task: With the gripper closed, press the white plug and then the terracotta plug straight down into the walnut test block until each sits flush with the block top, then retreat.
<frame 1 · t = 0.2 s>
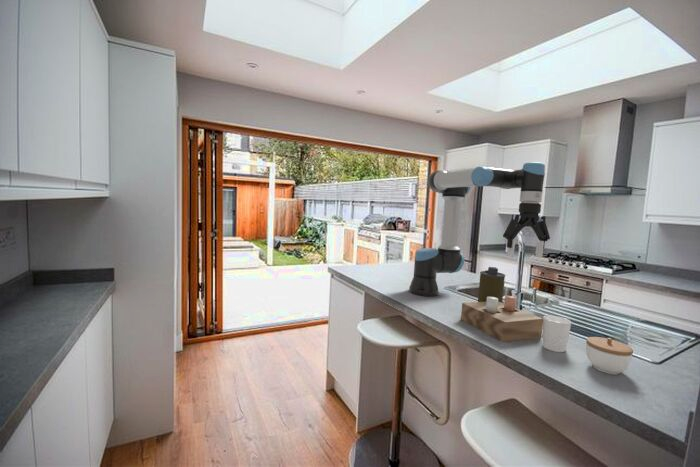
hand: (524, 256, 128), 28 cm above the countertop, fingers open, 13 cm apart
canister: (488, 311, 146), on the countertop
white plug: (491, 305, 123), point 9 cm above the countertop, slide at 0.0 cm
lidded jar: (605, 369, 96), on the countertop
terracotta plug: (510, 304, 126), point 9 cm above the countertop, slide at 0.0 cm
walnut block: (498, 328, 125), on the countertop
white cup: (553, 348, 109), on the countertop
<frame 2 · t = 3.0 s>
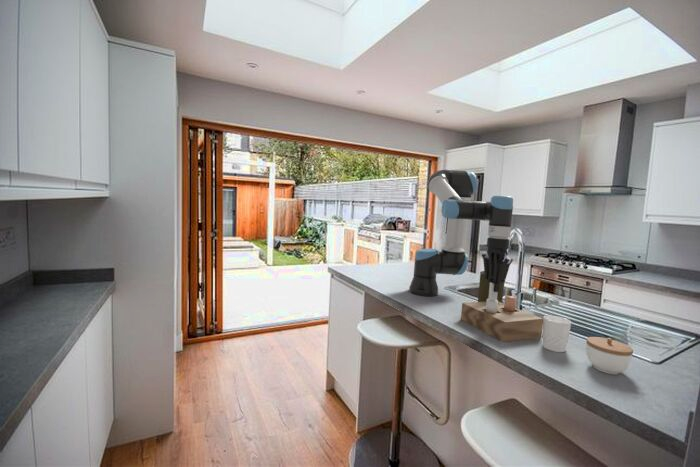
hand: (492, 299, 122), 11 cm above the countertop, fingers closed
white plug: (491, 307, 123), point 8 cm above the countertop, slide at 0.8 cm, touching gripper
everything else where it was.
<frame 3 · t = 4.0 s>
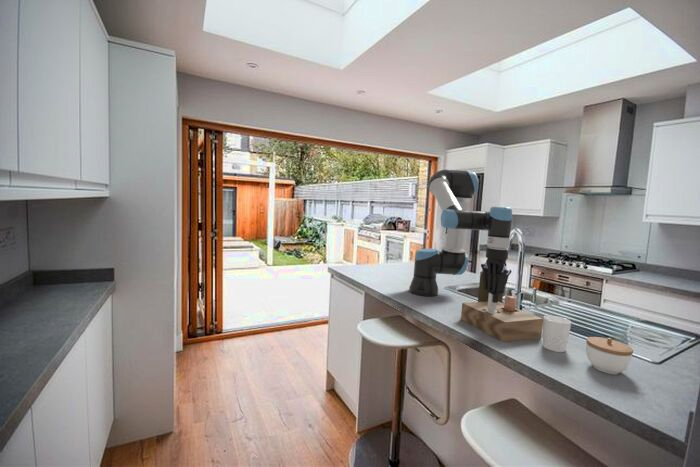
hand: (491, 309, 123), 7 cm above the countertop, fingers closed
white plug: (490, 318, 123), point 4 cm above the countertop, slide at 4.8 cm, touching gripper
everything else where it was.
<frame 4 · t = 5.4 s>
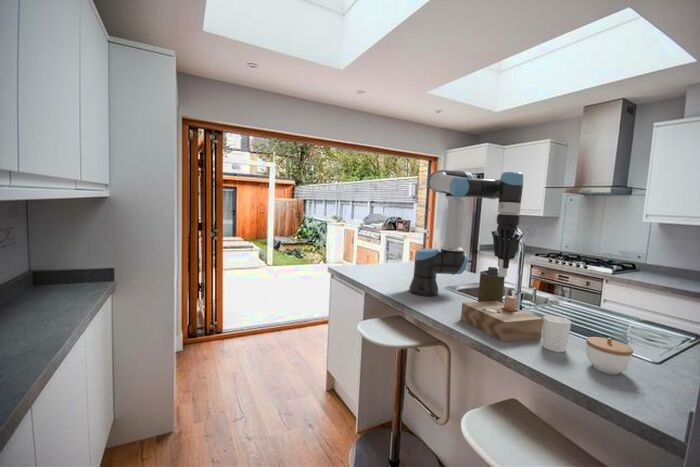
hand: (502, 276, 123), 20 cm above the countertop, fingers closed
white plug: (490, 318, 123), point 4 cm above the countertop, slide at 4.8 cm
everything else where it was.
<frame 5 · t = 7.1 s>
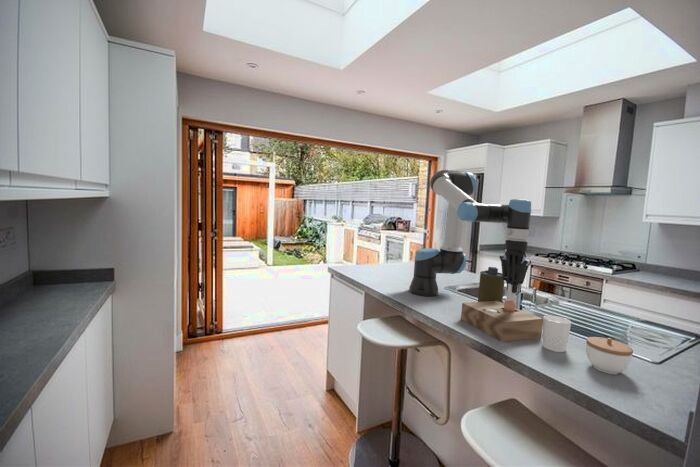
hand: (510, 300, 126), 11 cm above the countertop, fingers closed
terracotta plug: (509, 308, 126), point 8 cm above the countertop, slide at 1.5 cm, touching gripper
everything else where it was.
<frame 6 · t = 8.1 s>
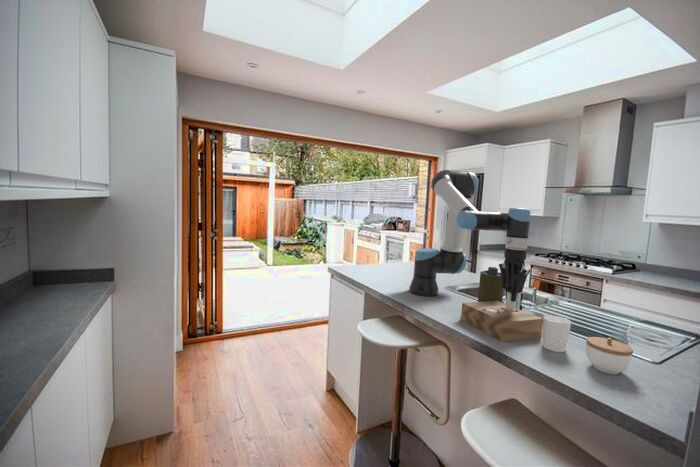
hand: (509, 308, 126), 7 cm above the countertop, fingers closed
terracotta plug: (508, 316, 126), point 4 cm above the countertop, slide at 4.8 cm, touching gripper
everything else where it was.
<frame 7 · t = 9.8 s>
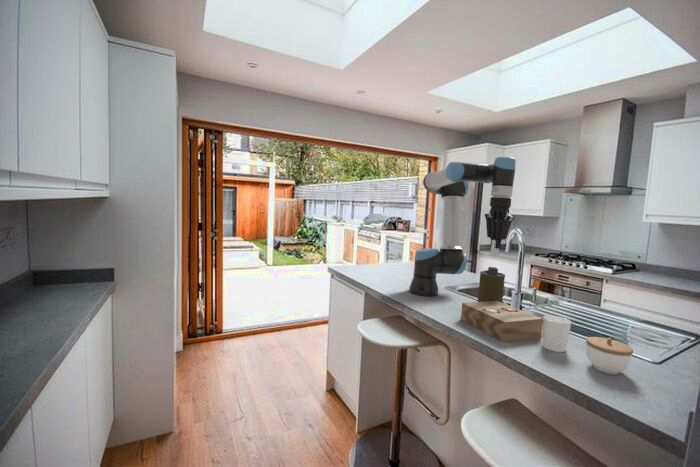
hand: (494, 256, 130), 27 cm above the countertop, fingers closed
terracotta plug: (508, 316, 126), point 4 cm above the countertop, slide at 4.8 cm
everything else where it was.
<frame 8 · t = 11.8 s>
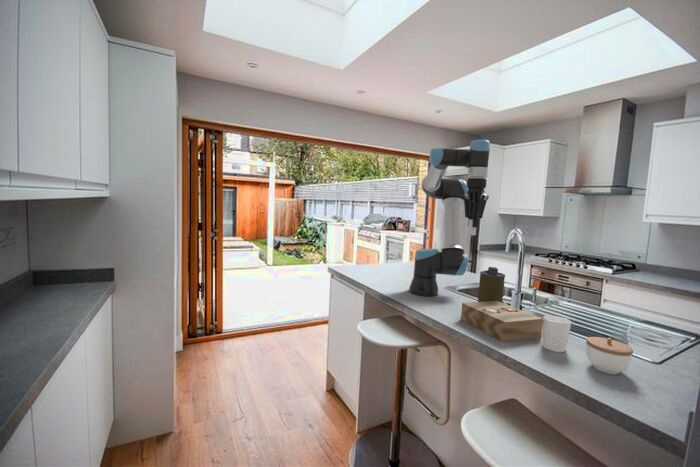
hand: (471, 235, 136), 34 cm above the countertop, fingers closed
nothing on the countertop moved.
at the end: white plug slide at 4.8 cm; terracotta plug slide at 4.8 cm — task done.
